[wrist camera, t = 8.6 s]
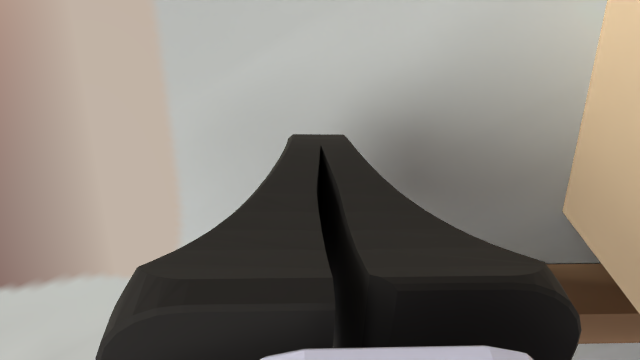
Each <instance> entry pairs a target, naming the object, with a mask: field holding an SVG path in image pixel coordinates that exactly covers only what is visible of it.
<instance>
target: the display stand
mask: <svg viewBox="0 0 640 360" xmlns="http://www.w3.org/2000/svg"><path fill="white" fill-rule="evenodd" d="M546 265H547V266H548V267H549V269H550V270H551V271H552V273H553V274H554V275H555V277H556V278H557V280H558V281H559V282H560V284H561V286H562V287H563V289H564V291H565V292H566V294H567V296H568V297H569V299H570V301H571V303H572V304H573V306H574V307H575V309H576V310H577V312H578V314H579V315H580V322H581V329H582V331H581V335H580V338H579V342H578V344H587V343H640V314H639V313H638V311H637V310H636V309H635V307H634V306H633V305H632V303H631V302H630V301H629V299H628V298H627V297H626V295H625V294H624V293H623V291H622V290H621V289H620V287H619V286H618V285H617V283H616V282H615V281H614V279H613V278H612V277H611V275H610V274H609V273H608V271H607V270H606V269H605V267H604V266H603V265H602V264H546Z"/></svg>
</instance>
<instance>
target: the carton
mask: <svg viewBox="0 0 640 360" xmlns="http://www.w3.org/2000/svg"><path fill="white" fill-rule="evenodd" d="M562 212H563V213H564V214H565V216H566V217H567V218H568V220H569V221H570V222H571V224H572V225H573V226H574V228H575V229H576V230H577V232H578V233H579V234H580V236H581V237H582V238H583V240H584V241H585V242H586V244H587V245H588V246H589V248H590V249H591V250H592V251H593V253H594V254H595V255H596V257H597V258H598V259H599V261H600V262H601V263H602V265H603V266H604V267H605V269H606V270H607V271H608V273H609V274H610V275H611V277H612V278H613V279H614V281H615V282H616V283H617V285H618V286H619V287H620V289H621V290H622V291H623V293H624V294H625V295H626V297H627V298H628V299H629V301H630V302H631V303H632V305H633V306H634V307H635V309H636V310H637V311H638V313H639V314H640V0H607V5H606V10H605V14H604V19H603V24H602V28H601V33H600V38H599V42H598V47H597V52H596V57H595V61H594V66H593V71H592V75H591V80H590V85H589V89H588V94H587V99H586V103H585V108H584V113H583V117H582V122H581V127H580V132H579V136H578V141H577V146H576V150H575V155H574V160H573V164H572V169H571V174H570V178H569V183H568V188H567V192H566V197H565V202H564V207H563V211H562Z"/></svg>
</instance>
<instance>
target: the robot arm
mask: <svg viewBox="0 0 640 360" xmlns="http://www.w3.org/2000/svg"><path fill="white" fill-rule="evenodd" d="M581 331H582V329H581V322H580V315H579V314H578V312H577V310H576V309H575V307H574V306H573V304H572V303H571V301H570V299H569V297H568V296H567V294H566V292H565V291H564V289H563V287H562V286H561V284H560V282H559V281H558V280H557V278H556V277H555V275H554V274H553V273H552V271H551V270H550V269H549V267H548V266H547V265H546V263H545V262H542V261H539V260H536V259H533V258H530V257H527V256H524V255H521V254H518V253H515V252H512V251H509V250H506V249H503V248H500V247H497V246H495V245H493V244H490V243H488V242H485V241H483V240H481V239H478V238H476V237H474V236H471V235H469V234H467V233H465V232H463V231H461V230H459V229H457V228H455V227H453V226H451V225H449V224H448V223H446V222H444V221H442V220H440V219H438V218H437V217H435V216H433V215H432V214H430V213H428V212H427V211H425V210H424V209H422V208H421V207H419V206H418V205H416V204H415V203H414V202H412V201H411V200H409V199H408V198H406V197H405V196H404V195H403V194H401V193H400V192H399V191H398V190H396V189H395V188H394V187H393V186H392V185H391V184H389V183H388V182H387V181H386V180H385V179H384V178H383V177H382V176H381V175H379V174H378V172H377V171H376V170H375V169H374V168H373V167H372V166H371V165H370V164H369V163H368V162H367V161H366V160H365V159H364V158H363V156H362V155H361V154H360V153H359V152H358V151H357V150H356V148H355V147H354V146H353V145H352V144H351V142H350V141H349V140H348V139H347V138H346V137H345V136H344V135H298V134H293V135H292V136H291V137H290V138H289V139H288V142H287V144H286V147H285V149H284V151H283V153H282V155H281V156H280V158H279V160H278V161H277V163H276V164H275V166H274V167H273V169H272V170H271V172H270V173H269V175H268V176H267V177H266V179H265V180H264V181H263V182H262V184H261V185H260V186H259V187H258V189H257V190H256V191H255V192H254V193H253V194H252V195H251V197H250V198H249V199H248V200H247V201H246V202H245V203H244V204H243V205H242V206H241V207H240V208H239V209H237V210H236V211H235V212H234V213H233V214H232V215H231V216H229V217H228V218H227V219H225V220H224V221H223V222H222V223H220V224H219V225H218V226H216V227H215V228H213V229H212V230H211V231H209V232H207V233H206V234H204V235H203V236H201V237H199V238H198V239H196V240H194V241H192V242H191V243H189V244H187V245H185V246H183V247H181V248H179V249H178V250H176V251H173V252H171V253H169V254H167V255H165V256H162V257H160V258H158V259H156V260H153V261H151V262H149V263H147V264H144V265H141V266H139V267H138V268H137V269H136V270H135V272H134V274H133V275H132V277H131V279H130V281H129V282H128V284H127V286H126V287H125V289H124V291H123V293H122V294H121V296H120V298H119V300H118V301H117V303H116V305H115V307H114V310H113V312H112V314H111V317H110V319H109V322H108V325H107V327H106V330H105V332H104V335H103V338H102V340H101V343H100V346H99V349H98V352H97V356H96V360H571V359H572V357H573V355H574V353H575V350H576V348H577V346H578V342H579V338H580V335H581Z"/></svg>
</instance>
